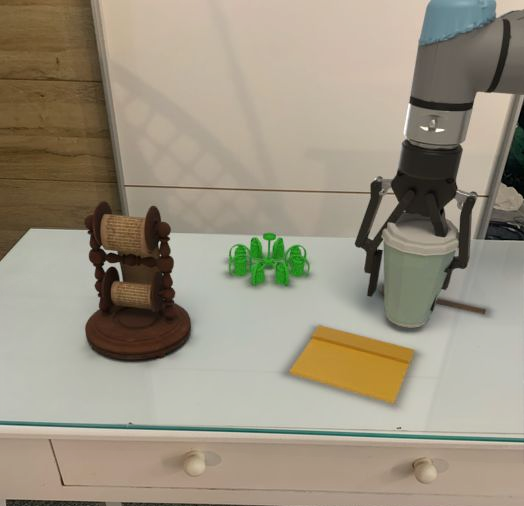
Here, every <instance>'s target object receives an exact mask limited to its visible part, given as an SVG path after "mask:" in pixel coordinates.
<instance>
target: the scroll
mask: <svg viewBox="0 0 524 506" xmlns="http://www.w3.org/2000/svg"><path fill="white" fill-rule="evenodd" d="M161 217H162V216H161V212H160V210H159V208H158V207H157V206H156V205H151V206H150V207H149V208H148V210H147V212H146V214H145V217H141V216H140V217H139V216H131V215H121V214H119V215H118V214H113V211H112V207H111V206H110V204H109V202H107V201H105V200H101V201H100V202H98V204H97V205H96V206H95V208H94V212H93V214H89V215H87V216H86V217H85V219H84V222H83V223H84V226H85V228H86V229H87V232H86V233H87V235H89V236H90V237H89V242H88V243H89V247H90V248H91V249H90V250H89V252H88V260H89V262H90V263H91V264H92V266H93V267H95V269H94V278H95V279H96V282H94V289H95V291H96V292H97V297H98V298H99V302H98V308H99V309H97V310H96V311H95V312H93V313H92V314H91V315H90V316H89V318H88V319H87V320H86V323H85V327H84V329H85V330H84V331H85V337H86V341H87V343H88V344H89V346H90V347H91V349H92V351H96V352H97V353H100V354H102V355H103V356H104V355H105V356H107V357H111V358H114V359H121V360H142V359H150V358H154V357H157V358H158V359H164V358H165V357H166V356H165V355H166V354H167V353H169V352H172V351H173V350H175V349H177V348H178V347H180V346H181V345H183V344H184V342H185V341H187V340H188V338H189V336H190V334H191V330H192V322H191V316H190V314H189V313H188V311H187V310H186V309H185V308H184V307H183V306H181V305H180V304H177V303H176V302H175V300H174V298H175V297H176V290H175V289H174V288H173V286H174V281H173V277H172V275H171V274H172V273H173V270H174V267H175V260H174V258H173V256H171V252H172V250H171V247H170V244H169V241H171V237H170V235H171V231H172V228H171V225H170V224H169V223H168V222H166V221H162V218H161ZM159 243H160V244H159ZM101 247H102V248H101ZM106 251H111V252H106ZM115 252H116V253H115ZM106 262H107V263H109V264H118V263H119V266H120V272H121V277H120V273H119V270H118V269H117V267H116V266H109V267H108V268H107V269H106V271H105V269H104V267H103V266H105V263H106ZM121 278H122V279H121ZM121 280H122V281H121Z"/></svg>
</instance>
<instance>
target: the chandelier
mask: <svg viewBox="0 0 524 506" xmlns="http://www.w3.org/2000/svg"><path fill="white" fill-rule="evenodd" d="M262 239H263V240H264V241H267V256H265V255H264V254H263V245H262V242H261V240H260V239H259V238H258V237H257V236H253V237H252V238H251V239H250V245H249V247H248V246H247V245H245V244H242V243H237V244H233V245H232V246H231V248H230V249H229V251H228V257H229V260H230V261H229V263H228V271H229V274H231V275H232V276H237V277H244V276H246V274H249V273H251V276H250V277H251V279H250V280H251V284H252V286H257V285H262V284H263V283H264V282H265V269H264V268H265V267H266V266H272V267H273V268H274V270H275V271H274V272H275V277H274V278H275V280H274V281H275V283H277V284H279V285H283V286H284V287H286V286H288V284H289V282H290V274H291V275H292V276H293V277H302V276H303V277H306V276H307V275H308V274H309V272H310V268H311V266H310V262H309V260H308V259H307V254H308V253H307V250H306V248H305V247H304V246H303V245H301V244H294V245H293V244H292V245H291V246H290V247H289V248H288V249H287V250H285V243H284V239H283V237H279V236H278V237H277V235H276V234H275V233H274V232H265V233H263V234H262ZM271 241H272V242H273V241H274V242H273V245H272V254H271ZM233 248H235V249H234V253H233V254H234V255H233V257H232V250H233ZM301 248H302V249H303V252H304V254H303V255H302V253H303V252H302V249H301ZM247 253H248V254H247ZM288 254H289V256H288ZM262 257H263V258H262ZM247 258H248V260H249V261H248V262H247ZM252 260H257V261H256V262H253V261H252ZM281 260H284V261H281ZM233 263H234V265H233V267H234V273H233V272H232V269H231V268H232V264H233ZM305 263H306V266H307V271H306V273H305V274H304V271H305V270H304V268H305ZM248 266H249V267H248ZM289 266H290V269H289Z"/></svg>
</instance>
